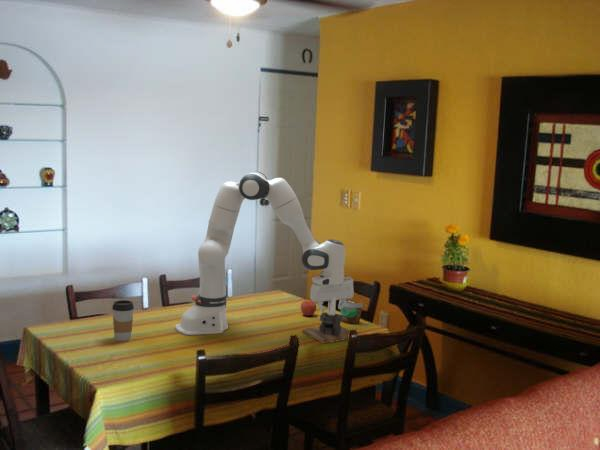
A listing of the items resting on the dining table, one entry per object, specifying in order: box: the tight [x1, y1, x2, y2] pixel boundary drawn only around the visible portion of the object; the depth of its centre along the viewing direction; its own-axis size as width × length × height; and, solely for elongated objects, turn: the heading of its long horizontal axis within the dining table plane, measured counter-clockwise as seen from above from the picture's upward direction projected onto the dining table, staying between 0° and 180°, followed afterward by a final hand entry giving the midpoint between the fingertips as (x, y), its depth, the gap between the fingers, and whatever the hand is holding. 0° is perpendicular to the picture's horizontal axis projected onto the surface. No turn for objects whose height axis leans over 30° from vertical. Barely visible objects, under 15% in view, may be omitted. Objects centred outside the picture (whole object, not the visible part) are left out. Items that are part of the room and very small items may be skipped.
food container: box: [338, 299, 364, 325], centre depth 315 cm, size 12×6×10 cm, turn 47°
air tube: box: [327, 296, 337, 328], centre depth 293 cm, size 3×3×16 cm
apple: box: [300, 300, 317, 317], centre depth 322 cm, size 7×7×8 cm
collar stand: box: [301, 311, 351, 344], centre depth 294 cm, size 18×16×8 cm
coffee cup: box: [111, 299, 135, 342], centre depth 275 cm, size 8×8×15 cm
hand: (331, 310), depth 293 cm, fingers open, 8 cm apart
